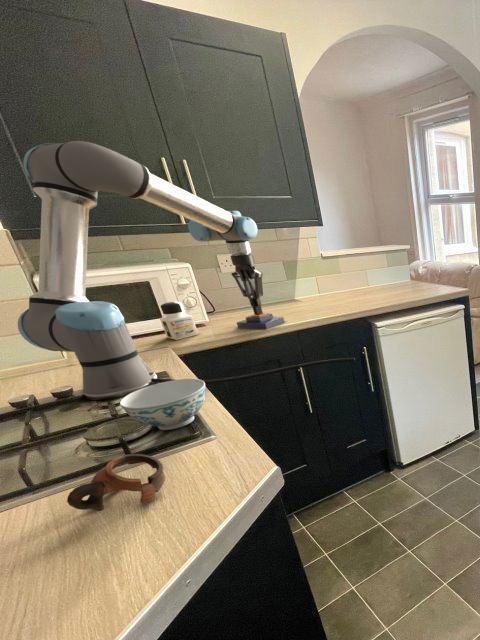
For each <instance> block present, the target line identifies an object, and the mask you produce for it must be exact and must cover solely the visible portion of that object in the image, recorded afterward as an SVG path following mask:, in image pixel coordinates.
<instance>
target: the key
mask: <svg viewBox="0 0 480 640" xmlns="http://www.w3.org/2000/svg"><path fill="white" fill-rule="evenodd" d="M264 313H265V312H263V313H262V314H259V315H254V314H252V316H251V315H250V316H251V317H261V316H264V315H267V314H264Z"/></svg>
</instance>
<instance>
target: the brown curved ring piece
mask: <svg viewBox="0 0 480 640" xmlns="http://www.w3.org/2000/svg"><path fill="white" fill-rule="evenodd" d="M122 463H128V465H129V466H131V465H136V464H143V463H145V464H147V465H149V466H150V467H151V469H155V470H156V471H155V472H154V473H152V474H151V475H149V476H148V477H147V482H145V483H142V479H141V478H129V477H124V476H121V475H119V474H116V473H115V472H114V470H115V469H116V468H117V467H118V466H119V465H120V464H122ZM165 480H166V474H165V472H164V467H163V463H162V462H161V460H159V459H157V458H155V457H153V456H150V455H148V454H143V453H130V454H129V453H128V454H125V455H123V454H122V455H121V456H117V457H114V458H112V459H111V460H110V461H109V462H107V464H106V466H104V467H102V468H101V469H100V470H98V472H97V473H95V475H94V476H93V478H92V480H91V481H90V482H87V483H82V484H80V485H78V486H76V487H74V488H73V489H72V490H71V491H69V492H68V496H67V499H66V502H67V503H68V505H69V506H70V507H72V508H74V509H77V510H79V511H80V510H82V511H88V510H93V511H96V512H101V511H104V509H105V507H104V496H106V495H108V494H111V493H114V492H118V491H127V492H140V493H141V497H140V503H141V504H146V503H151V502H152V501H153V500H154V498H155V497H156V493H158V492H159V491H160V490H161V489H162V488H163V485H164V483H165ZM87 496H88V498H87V499H84V498H85V497H87Z"/></svg>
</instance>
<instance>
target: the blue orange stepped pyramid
mask: <svg viewBox="0 0 480 640" xmlns="http://www.w3.org/2000/svg"><path fill="white" fill-rule="evenodd" d="M263 313H264V314H267V315H264V316H261V317H251V316H252V315H255V314H254V313H253V314H252V315H249V316H246V317H245V319H243V320H239V321H237V322H236V325H237V328H238V329H260V330H261V329H263V330H268V329H270V328H272V327H275V326H278V325H281V324H284V323H285V318H284V316H274V315H273V313H271V312H270V313H267V312H263Z"/></svg>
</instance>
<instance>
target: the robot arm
mask: <svg viewBox="0 0 480 640" xmlns="http://www.w3.org/2000/svg"><path fill="white" fill-rule="evenodd" d="M22 164H23V169H24V172H25V174H26V176H27V177H29V178H30V180H31V182H32V183H33V186H32V190H33V192H35V194H36V195H37V196H39V198H40V199H41V213H40V240H39V241H40V243H39V266H38V267H39V268H38V290H37V292H35V293H33V294H31V295H30V296H29V297H28V299H29V300H28V308H27V309H26V310H24V311H23V312H22V313H20V314H19V317H18V320H17V329H18V331H19V333H20V335H21V337H22V339H24V340H25V341H26V342H27V343H29V344H30V345H33V347H34V346H35V347H37V348H40V349H44V350H48V351H51V352H68V353H74V354H75V356H76V358H77V361H78V362H79V364H80V366H81V370H82V391H83V394H84V396H85V398H86V399H87V400H90V401H105V400H113V399H117V398H118V399H119V398H124V397H125V396H127V395H129V394H130V393H132V392H135V391H137V390H139V389H142V388H145V387H148V386H151V385H154V384H158V383H162V382H167V381H172V380H176V378H175V379H172V378H158V376H157V374H156V373H155V371H154V370H153V369H152V368H151V367H150V366H149V365H148V364H147V362H145V361H144V359H142V358H141V356H140V355H139V352H138V349H137V348H136V345H135V343H134V339H133V338H132V336H131V333H130V331H129V329H128V326H127V324H126V321H125V316H123V314H122V313H121V310H120V309H119V307H118V306H117V305H116V304H114V303H112V302H108V301H101V300H96V301H95V300H93V301H90V300H89V299H88V298H87V297H86V292H87V291H86V289H87V288H86V287H87V284H86V283H87V268H88V267H87V266H88V243H89V241H88V240H89V220H90V219H89V217H90V215H89V214H90V210H92V209H93V208H95V207H97V206H98V192H99V193H100V192H107V193H114V194H119V195H122V196H125V197H128V198H130V199H133V200H137V199H141V200H144V201H146V202H148V203H151V204H154V205H156V206H158V207H159V208H162V209H165V210H167V211H169V212H171V213H174V214H176V215H178V216H180V217H183V218H185V219H187V220H189V222H188V225H187V228H188V232H189V234H190V236H191V237H192V238H193V239H194V240H195V241H197V242H200V243H203V242H205V243H207V242H215V241H225V243H226V247H227V251H228V254H229V255H230V261H231V264H232V265H233V266H234V267H235V268H234V269H235V270H234V272H231V276H232V277H233V278H234V280H235V282H236V285H237V286H238V288H239V290H240V292H241V294H242V296H243V297H244V298H247V299H248V300H249V301H248V302H249V304H250V306H251V308H252V311H253V315H254V314H255V315H259V314H262V313H264V311H263V309H262V302H261V297H263V296H264V288H263V287H264V286H263V271H258V270H257V268H256V266H255V263H256V262H255V258H254V255H253V253H252V248H251V244H250V241H249V240H254V239H255V238H256V237H257V236H258V232H259V231H258V226H257V223H256V222H255V221H254V219H253V218H251V217H248V216H245V215H244V216H243V215H242V214H241V212H240V211H238V210H225V209H224V208H222V207H219V206H218V205H215V204H213V203H211V202H210V201H207V200H206V199H203V198H202V197H199V196H198V195H195V194H193V193H191V192H189V191H187V190H185V189H183V188H182V187H179V186H177V185H175V184H173V183H171V182H169V181H167V180H165V179H163V178H161V177H159V176H158V175H155V174H154V173H151V172H150V171H149V169H148V167H146V166H145V165H144V164H141V163H140V162H138V161H135V160H133V158H132V159H131V158H129V157H127V156H125V155H123V154H121V153H119V152H117V151H114V150H112V149H110V148H107V147H105V146H102V145H99V144H96V143H93V142H90V141H83V140H73V141H67V142H60V143H54V142H53V143H52V142H51V143H42V144H39V145H37V146H34V147H32V148H30V149H29V150H27V152H26V153H25V154H24V157H23V162H22ZM344 362H345V363H346V362H356V358H355V357H348V358H347V357H346V358H334V359H326V360H325V359H324V360H318V361H317V360H316V361H311V362H306V363H300V364H295V365H289V366H285V367H279V368H274V369H270V370H265V371H261V372H255V373H251V374H243V375H239V376H232V377H225V378H216V379H208V380H204V379H203V381H204V382H205V385H209V384H220V383H227V382H234V381H241V380H247V379H251V378H258V377H262V376H266V375H272V374H277V373H281V372H285V371H291V370H295V369H301V368H307V367H311V366H317V365H324V364H325V365H326V364H332V363H333V364H334V363H344ZM161 381H162V382H161Z"/></svg>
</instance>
